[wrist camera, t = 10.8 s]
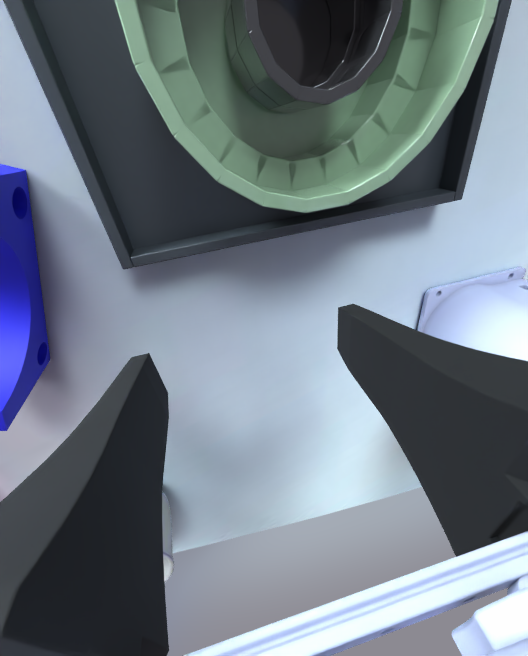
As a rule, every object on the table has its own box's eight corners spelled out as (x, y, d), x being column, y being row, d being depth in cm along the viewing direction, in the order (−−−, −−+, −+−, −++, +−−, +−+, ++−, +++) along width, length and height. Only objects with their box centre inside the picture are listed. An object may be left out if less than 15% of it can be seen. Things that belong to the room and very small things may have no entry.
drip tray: (549, -337, 10) (620, -430, 8) (439, 194, 20) (462, 199, 18) (-132, -357, 8) (-218, -491, 6) (128, 257, 17) (122, 269, 16)
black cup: (340, -63, 12) (421, -167, 8) (338, 105, 15) (394, 94, 11) (211, -52, 11) (225, -158, 7) (237, 121, 15) (257, 115, 10)
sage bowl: (433, -224, 11) (613, -486, 6) (390, 172, 18) (456, 183, 14) (65, -216, 9) (-49, -552, 5) (184, 211, 17) (184, 237, 12)
